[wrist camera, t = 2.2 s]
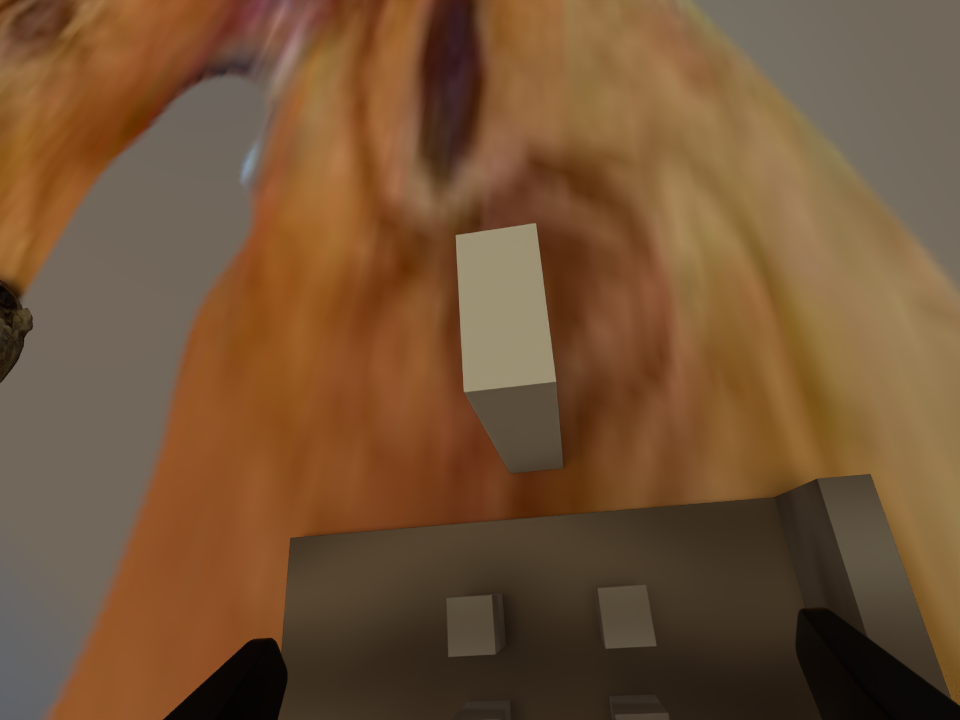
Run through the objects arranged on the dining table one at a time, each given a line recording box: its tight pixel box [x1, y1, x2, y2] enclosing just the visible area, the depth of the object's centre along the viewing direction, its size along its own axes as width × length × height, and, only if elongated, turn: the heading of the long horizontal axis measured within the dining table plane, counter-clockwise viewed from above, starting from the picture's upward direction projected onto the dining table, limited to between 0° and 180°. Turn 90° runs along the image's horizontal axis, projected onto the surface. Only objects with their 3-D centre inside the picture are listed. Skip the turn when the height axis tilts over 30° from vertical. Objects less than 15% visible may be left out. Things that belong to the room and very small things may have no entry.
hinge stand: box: [278, 474, 951, 720], centre depth 18 cm, size 11×22×5 cm, turn 94°
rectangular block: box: [456, 223, 563, 473], centre depth 20 cm, size 5×3×11 cm, turn 4°
